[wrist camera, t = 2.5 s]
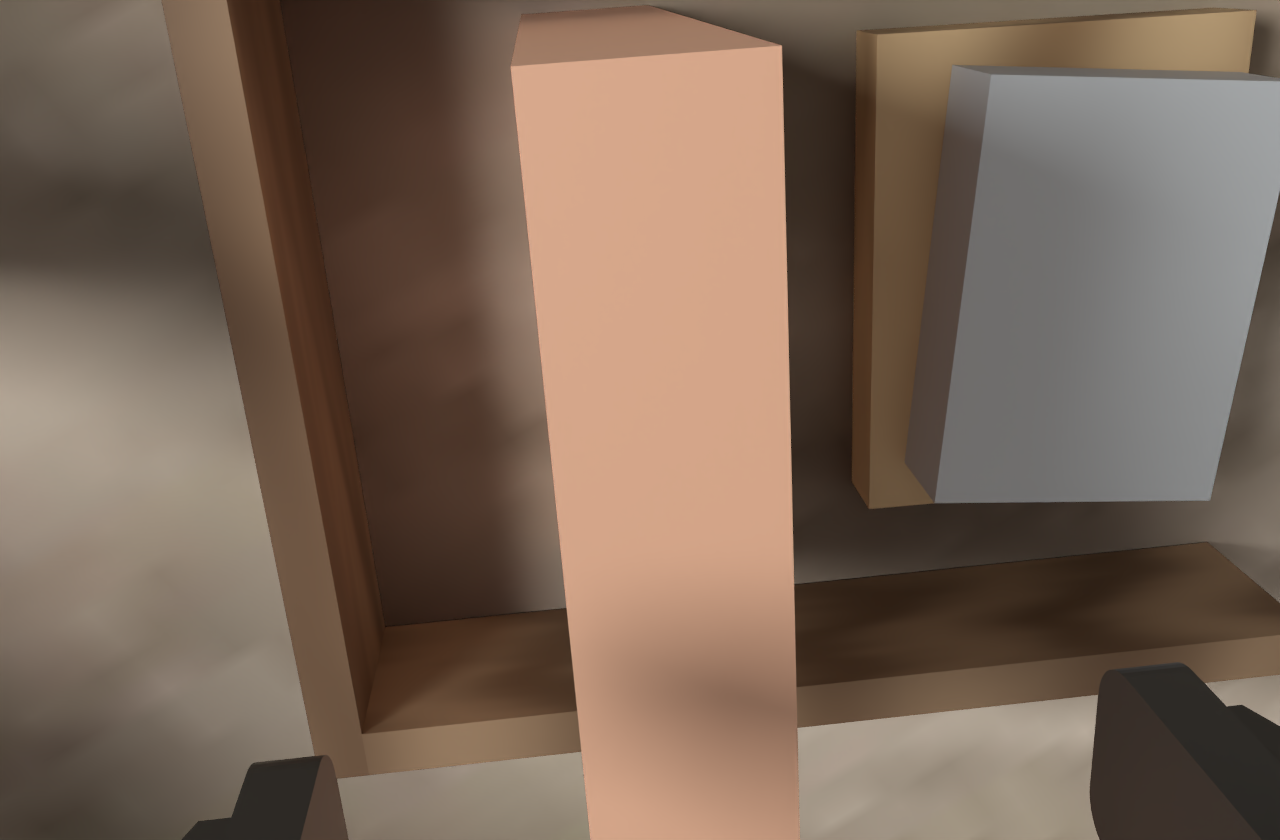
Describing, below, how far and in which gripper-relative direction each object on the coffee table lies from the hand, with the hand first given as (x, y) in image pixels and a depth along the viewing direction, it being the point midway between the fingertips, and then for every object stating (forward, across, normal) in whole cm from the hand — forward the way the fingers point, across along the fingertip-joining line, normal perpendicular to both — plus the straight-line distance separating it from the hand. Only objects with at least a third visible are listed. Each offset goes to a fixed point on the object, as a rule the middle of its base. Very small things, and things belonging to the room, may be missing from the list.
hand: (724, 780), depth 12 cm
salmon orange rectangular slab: (+20, 0, 0) cm, 20 cm away
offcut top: (+18, -11, 0) cm, 21 cm away
